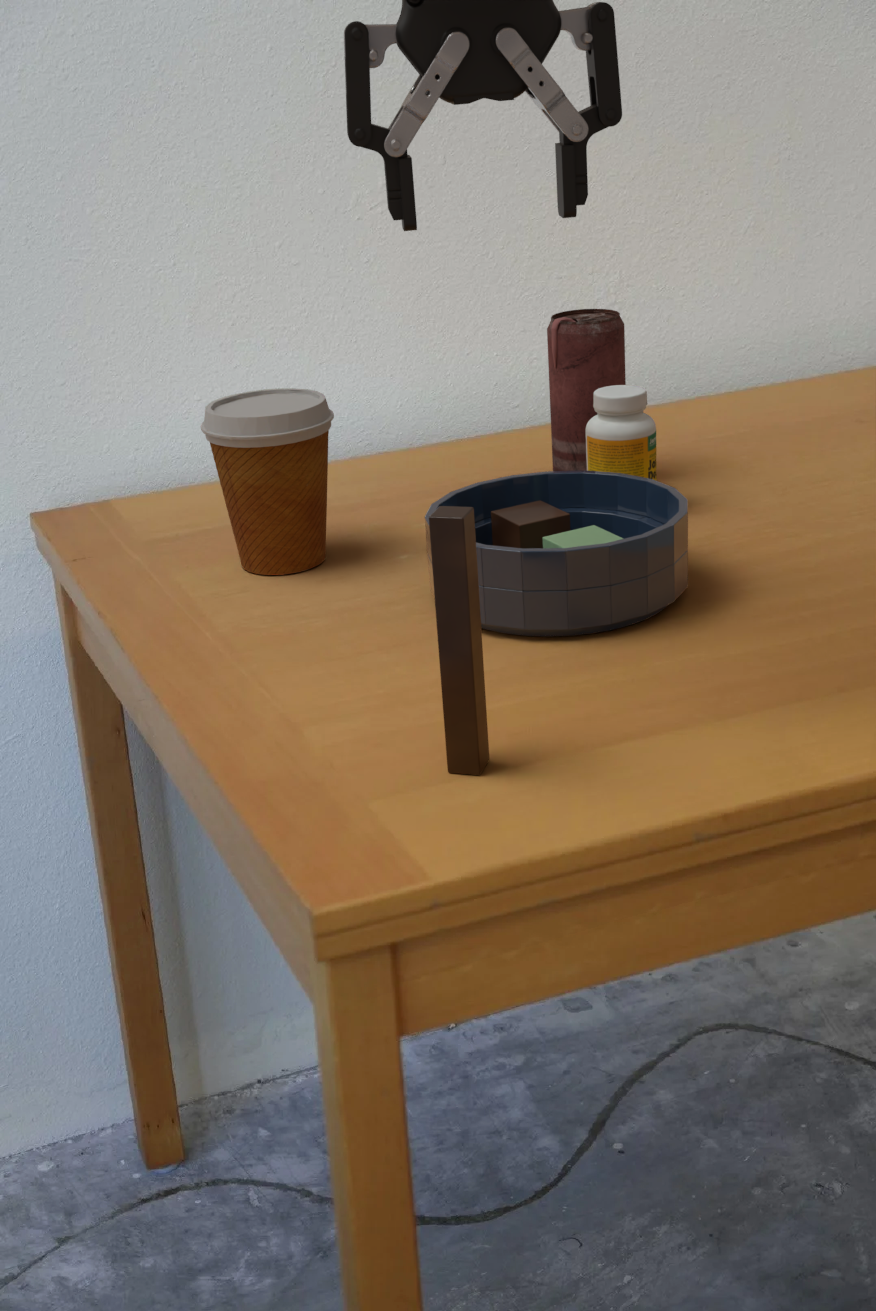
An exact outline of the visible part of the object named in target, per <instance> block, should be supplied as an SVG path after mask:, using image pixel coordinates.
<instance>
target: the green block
mask: <svg viewBox="0 0 876 1311" xmlns="http://www.w3.org/2000/svg"><path fill="white" fill-rule="evenodd" d="M542 539H543V548H570V547H578V546H587V545H595V544H603V543H608V542H613V541H617V540H621V539H623V538H621V537H619V536H617V535H615V534H612V533H610V532H608V531H606V530H604V529H602V528H599V527H597V526H595V525H592V526H588V527H584V528H579V529H575V530H571V531H567V532H562V533H558V534H554V535H550V536H545V537H543V538H542Z"/></svg>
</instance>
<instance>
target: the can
mask: <svg viewBox="0 0 876 1311" xmlns="http://www.w3.org/2000/svg"><path fill="white" fill-rule="evenodd" d="M625 332H626V330H625V323H624V321H623V318H622V317H621V314H620V312H619V311H618V310H613V309H608V308H607V309H606V308H580V309H572V310H566V311H560V312H557V313H555V314H552V315H551V317H550V321H549V324H548V326H547V328H546V336H547V338H546V340H547V363H548V387H549V409H550V433H551V435H550V436H551V456H552V457H551V458H552V471H587V460H586V425H587V423H588V421H589V420H590V419H591V418H592V417H594V416H595V415H597V412H595V410H594V407H593V403H594V402H593V394H594V391H595V390H597V389H599V388H602V387H607V386H613V385H627V382H626V379H627V378H626V341H625V340H626V335H625Z"/></svg>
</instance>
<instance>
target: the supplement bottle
mask: <svg viewBox="0 0 876 1311" xmlns="http://www.w3.org/2000/svg"><path fill="white" fill-rule="evenodd" d="M593 402H594V403H593V407H594V410H595V412H597V415H595V416H594V417H592V418H591V419H590V420H589V421H588V423H587V425H586V460H587V471H599V472H613V473H623V474H628V475H634V476H639V477H644V478H649V479H653V480H656V481H658V479H657V478H658V476H657V463H658V462H657V425H656V422H655V420H654V418H653V417H652V416H651V415H649V414H648V413H645V412H644V411H645V410H646V408H647V406H648V390H647V389H646V387H644V386H640V385H635V384H626V385H613V386H607V387H602V388H599V389H597V390H595V391H594V394H593Z"/></svg>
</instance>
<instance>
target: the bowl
mask: <svg viewBox="0 0 876 1311" xmlns="http://www.w3.org/2000/svg"><path fill="white" fill-rule="evenodd" d="M539 500H541V501H543V502H545V503H547V504H549V505H551V506H554V507H556V508H558V509H560V510H562V511H565V512H567V513H569V514H570V531H571V530H575V529H579V528H584V527H588V526H592V525H595V526H597V527H599V528H602V529H604V530H606V531H608V532H610V533H612V534H615V535H617V536H619V537H621V538H623V539H621V540H617V541H613V542H608V543H603V544H595V545H587V546H578V547H570V548H529V549H523V548H513V547H503V546H493V540H492V522H491V511H495V510H499V509H504V508H508V507H513V506H517V505H522V504H526V503H530V502H535V501H539ZM439 506H456V507H473V508H474V520H475V536H476V552H477V568H478V584H479V600H480V616H481V629H482V630H486V631H491V632H495V633H501V634H505V635H506V634H507V635H512V636H513V635H514V636H526V637H545V638H547V637H569V636H571V637H572V636H582V635H590V634H591V635H592V634H598V633H603V632H608V631H613V630H617V629H623V628H626V627H628V626H633V625H636V624H638V623H641V622H643V621H645V620H647V619H650V618H651V617H653V616H656V615H658V614H659V613H660V612H662V611H664V610H665V609H666V608H667V607H668V606H669V605H671V604H673V603H674V602H675V601H676V600H677V599H678V598H679V597H680V596H681V595H682V594H683V593H684V592H685V591H686V590H687V588H688V587H689V499H688V498H687V497H686V496H685V495H683V493H681V492H680V491H679V490H678V489H677V488H676V487H675V486H674V487H673V486H671V485H669V484H666V483H664V482H661V481H658V480H657V481H656V480H653V479H649V478H644V477H639V476H634V475H628V474H623V473H613V472H599V471H553V470H551V471H550V470H547V471H537V472H529V473H519V474H511V475H507V476H501V477H497V478H496V477H495V478H492V479H488V480H483V481H478V482H475V483H472V484H469V485H466V486H464V487H460V488H458V489H455V490H453V491H450V492H448V493H446V494H445V495H443V496H441V497H440V498H438V499H437V500H435V501H434V502H432V503H431V504H430V506H429V508H428V510H427V511H426V513H425V515H424V526H425V528H424V529H425V541H426V554H427V566H428V580H429V590H430V592H431V594H432V597H433V598H434V599H433V600H435V595H434V582H433V569H432V556H431V542H430V529H429V516H430V515H431V514H432V513H433V512H434V511H435V510H436V509H437V508H438V507H439Z"/></svg>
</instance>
